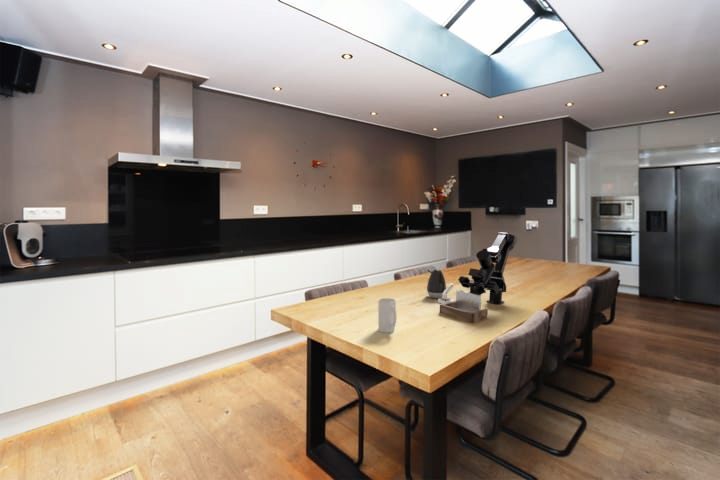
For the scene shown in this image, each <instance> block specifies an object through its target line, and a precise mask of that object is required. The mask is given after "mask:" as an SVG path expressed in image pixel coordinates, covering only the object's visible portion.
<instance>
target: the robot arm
mask: <svg viewBox="0 0 720 480" xmlns="http://www.w3.org/2000/svg"><path fill="white" fill-rule="evenodd" d="M517 242H518V238H517V236H515V234H510V233H509V232H500V231H499V232H497V236H496V238H495V239H494V241H493V243H492V244H491V246H490V247H488V248H482V250H481V249H480V250H479V251H478V252H477V253H476V259H477V262H478V264H479V266H480V268H479V269H477V268H469V270H468V276H470V277H471V279H470V278H469V277H468V276H463V275H461V276H459V278H458V279H457V280H458V281H459V283H460V285H461V286H462V287H463V288H467V289H469V292H470V293H474V294H479V295H481V296H482V295H483V294H486V292H487V291H489V296H488V297H489V299H488V300H486V303H490V304H495V305H501V304H504V303H505V301H503V293H507V284H506V281H505V278H504V271H505V268H506V265H507V262H508V257H509V253H510V252H511V251H512V250H513V249H514V248H515V246H516V245H517Z"/></svg>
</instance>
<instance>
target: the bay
mask: <svg viewBox="0 0 720 480" xmlns="http://www.w3.org/2000/svg"><path fill="white" fill-rule="evenodd" d="M488 312H489V310H488V309H487V308H483V309H481V310H480V311H477V312H473V313H471V312H468V311H464V310H460V309H457V308H456V300H452V302H448V303H445V304H439V314H441V315H443V314H444V315H443V316H448V317H450V318H454V319H457V320H461V321H464V322H468V323H471V324H475V323H478V322H481V321H484V320H486V319H488V314H489V313H488Z"/></svg>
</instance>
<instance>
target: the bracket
mask: <svg viewBox="0 0 720 480" xmlns="http://www.w3.org/2000/svg"><path fill="white" fill-rule="evenodd" d="M455 301H456V308H457V309H460V310H464V311H468V312H471V313H473V312H477V311H480V310H482V309H481V307H482V306H481V305H482V294H481V295H479V294H474V293H470V291H464V290H461V289H457V290H456V291H455Z"/></svg>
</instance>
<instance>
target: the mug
mask: <svg viewBox="0 0 720 480" xmlns="http://www.w3.org/2000/svg"><path fill="white" fill-rule="evenodd" d="M377 300H378V305H377V306H378V307H377V308H378V309H377V310H378V311H377V312H378V316H377V317H378V322H377V323H378V331H379V332H380V333H386V334H390V333H393V332H395V327H396V324H397V319H398V318H397V308H396V305H397V304H396V303H397V301H396V299H394V298H390V297H389V298H388V297H385V298H379V299H377Z"/></svg>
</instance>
